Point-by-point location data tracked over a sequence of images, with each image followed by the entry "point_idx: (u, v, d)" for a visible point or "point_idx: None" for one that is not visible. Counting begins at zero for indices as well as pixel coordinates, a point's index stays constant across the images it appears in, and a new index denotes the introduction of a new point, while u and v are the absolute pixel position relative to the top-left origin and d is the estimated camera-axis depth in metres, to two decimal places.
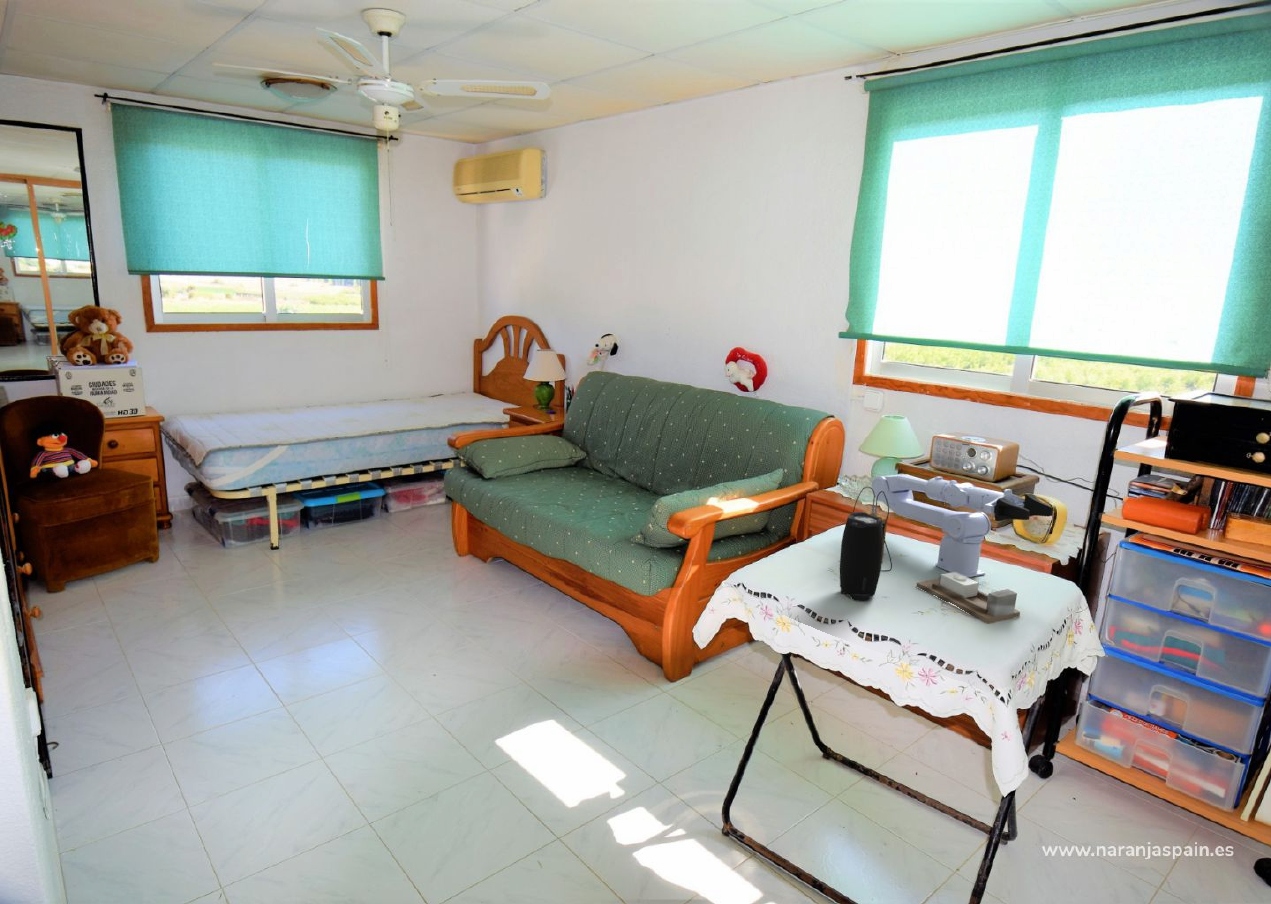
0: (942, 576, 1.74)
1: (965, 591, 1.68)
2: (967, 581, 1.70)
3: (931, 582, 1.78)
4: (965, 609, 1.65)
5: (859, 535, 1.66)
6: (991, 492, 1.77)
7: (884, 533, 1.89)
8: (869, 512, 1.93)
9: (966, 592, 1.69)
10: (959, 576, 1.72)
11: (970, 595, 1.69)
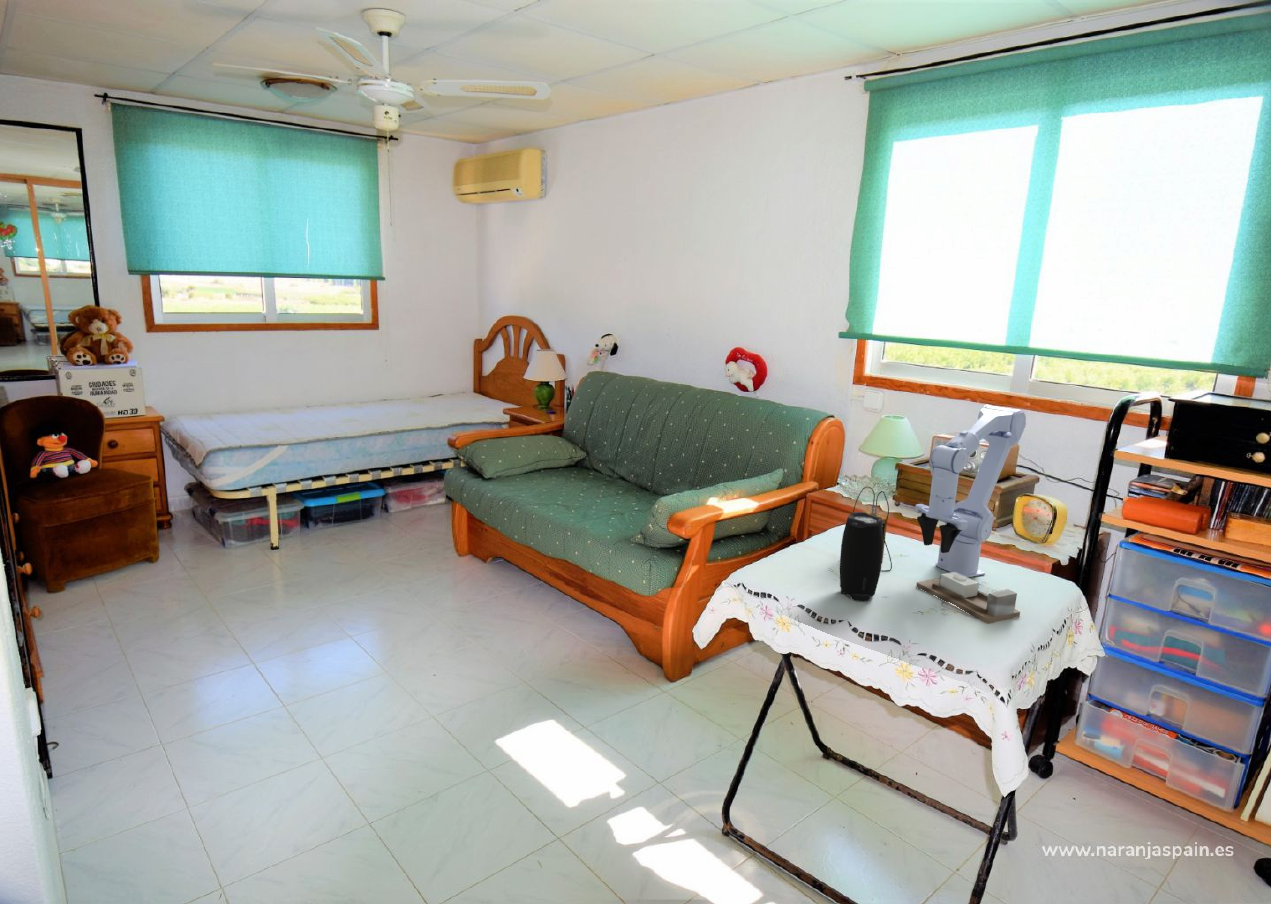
0: (942, 576, 1.74)
1: (965, 591, 1.68)
2: (967, 581, 1.70)
3: (931, 582, 1.78)
4: (965, 609, 1.65)
5: (859, 535, 1.66)
6: (931, 499, 1.75)
7: (884, 533, 1.89)
8: (869, 512, 1.93)
9: (966, 592, 1.69)
10: (959, 576, 1.72)
11: (970, 595, 1.69)
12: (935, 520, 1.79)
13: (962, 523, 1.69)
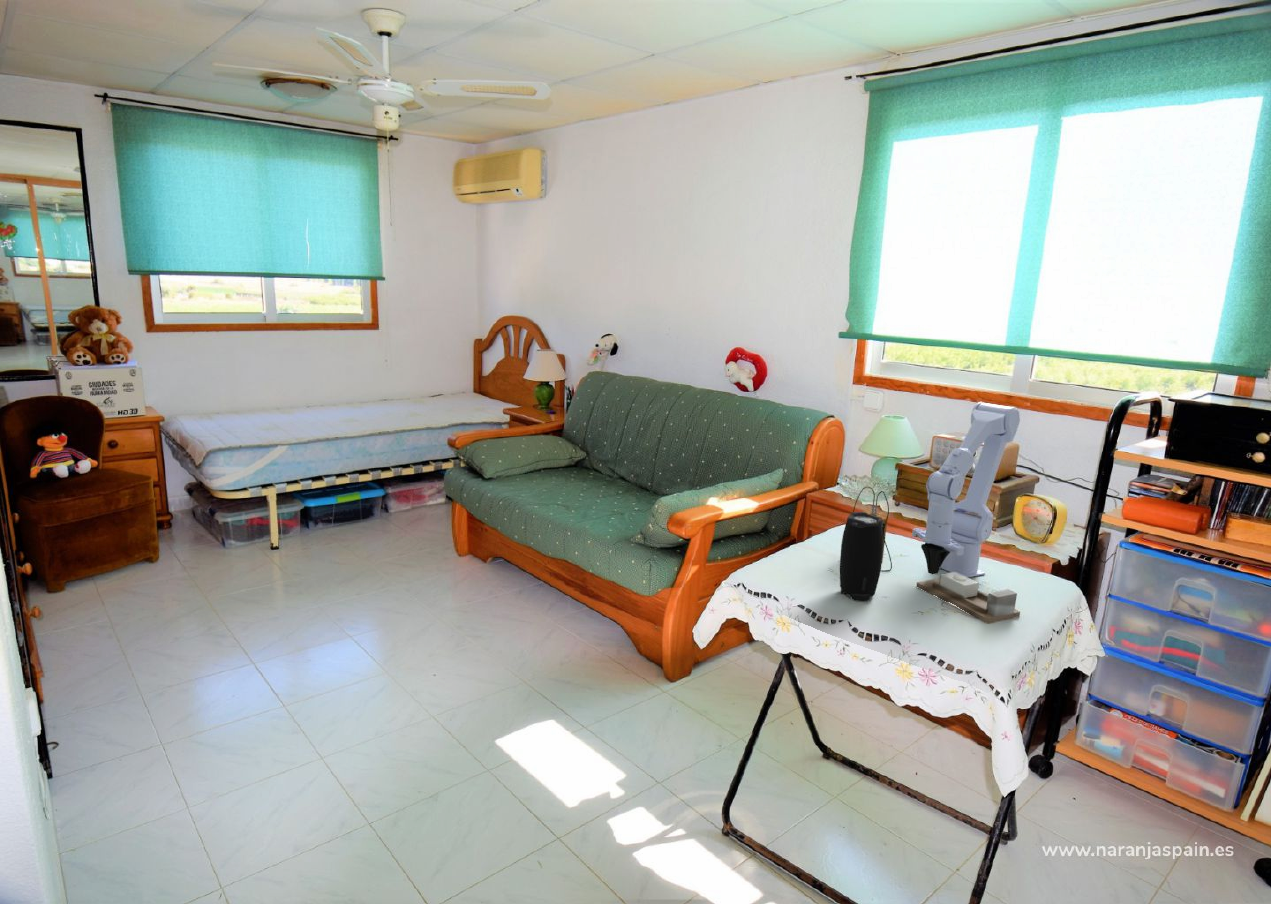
0: (942, 576, 1.74)
1: (965, 591, 1.68)
2: (967, 581, 1.70)
3: (931, 582, 1.78)
4: (965, 609, 1.65)
5: (859, 535, 1.66)
6: (927, 524, 1.76)
7: (884, 533, 1.89)
8: (869, 512, 1.93)
9: (966, 592, 1.69)
10: (959, 576, 1.72)
11: (970, 595, 1.69)
12: None
13: (958, 549, 1.71)
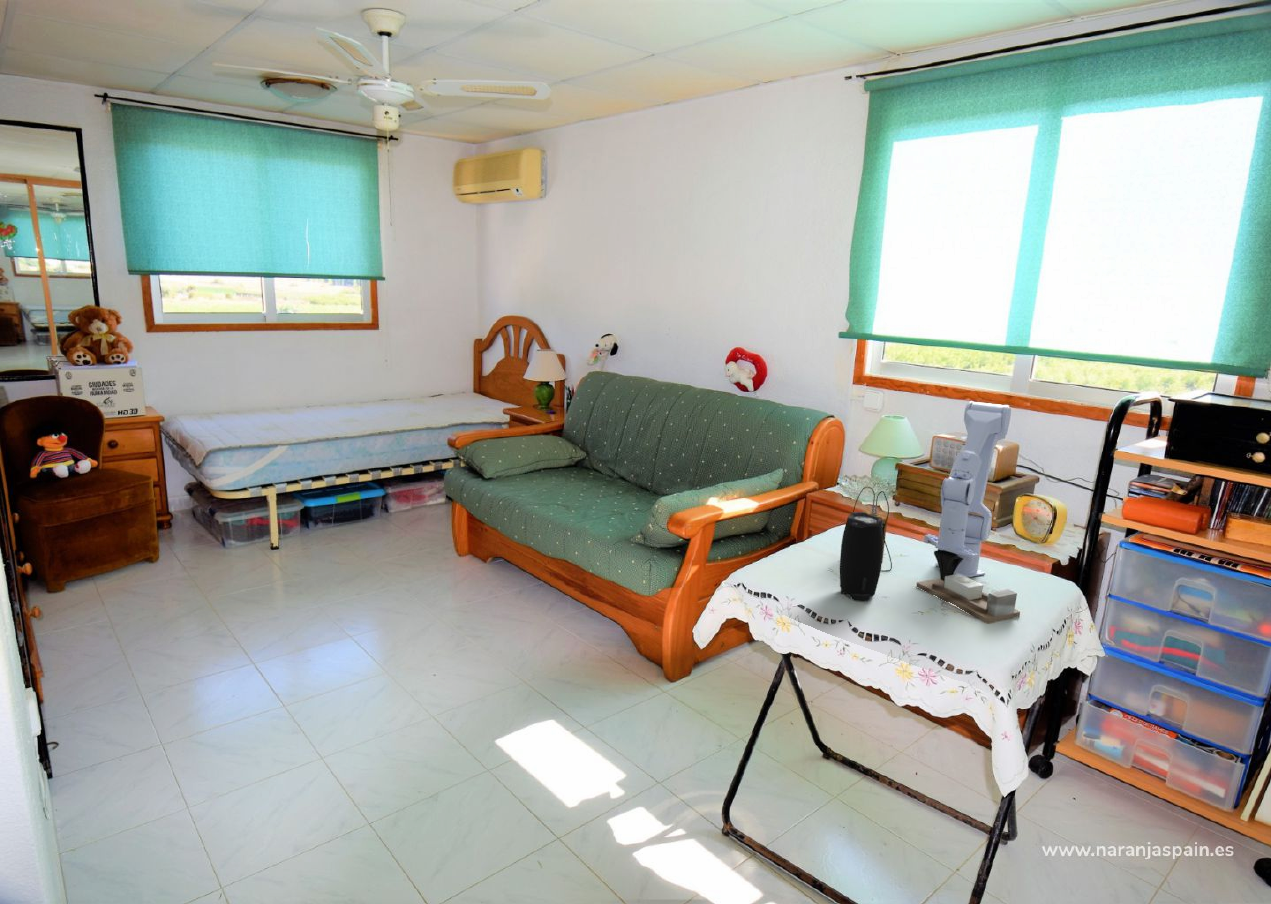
0: (947, 578, 1.72)
1: (970, 593, 1.67)
2: (971, 583, 1.69)
3: (931, 582, 1.78)
4: (965, 609, 1.65)
5: (859, 535, 1.66)
6: (940, 530, 1.73)
7: (884, 533, 1.89)
8: (869, 512, 1.93)
9: (971, 594, 1.68)
10: (963, 578, 1.71)
11: (975, 597, 1.68)
12: None
13: (972, 556, 1.67)
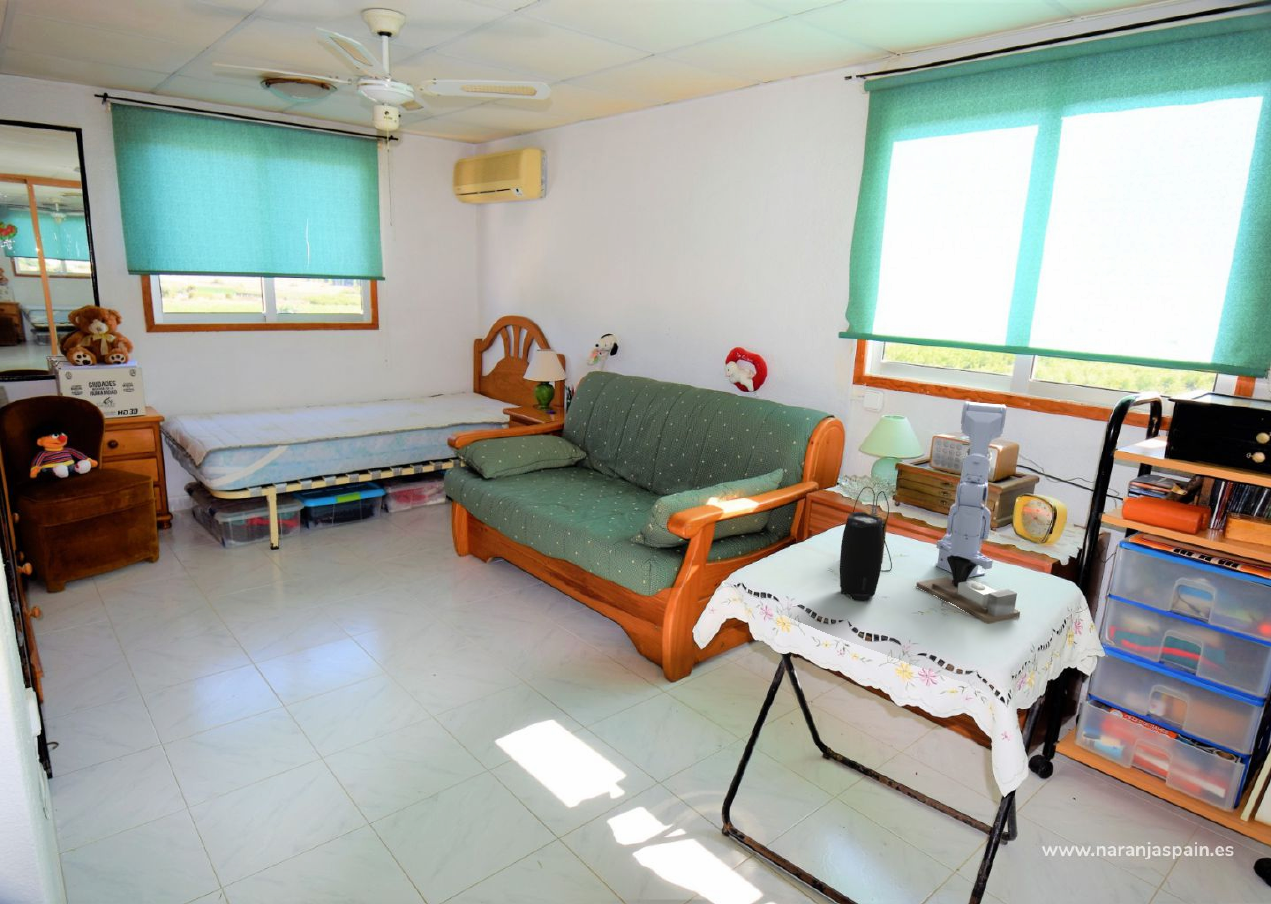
0: (960, 584, 1.69)
1: (984, 600, 1.64)
2: (986, 590, 1.65)
3: (931, 582, 1.78)
4: (965, 609, 1.65)
5: (859, 535, 1.66)
6: (954, 536, 1.69)
7: (884, 533, 1.89)
8: (869, 512, 1.93)
9: (985, 601, 1.64)
10: (977, 585, 1.68)
11: None
12: None
13: (987, 562, 1.63)
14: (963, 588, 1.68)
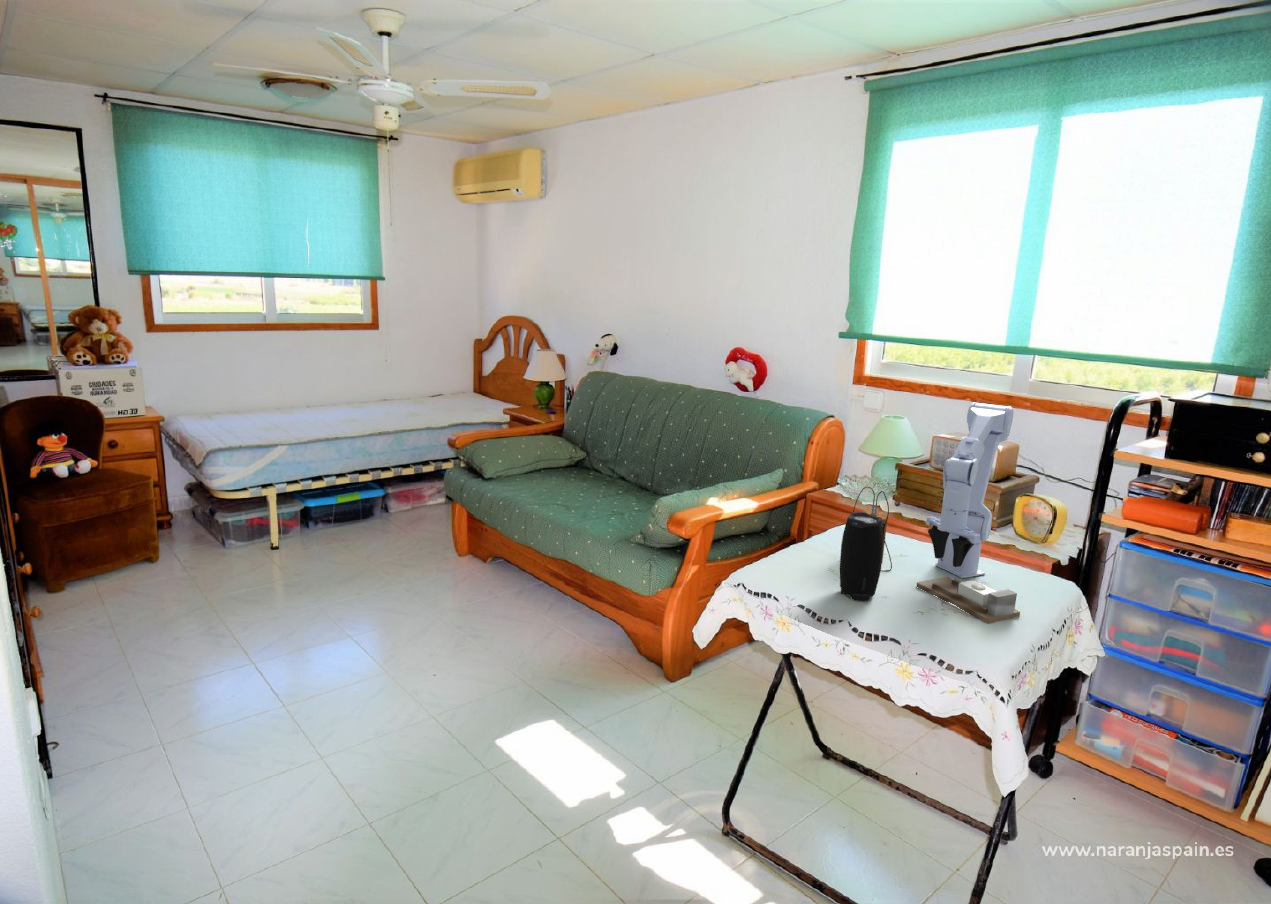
0: (960, 585, 1.69)
1: (984, 600, 1.64)
2: (986, 590, 1.65)
3: (931, 582, 1.78)
4: (965, 609, 1.65)
5: (859, 535, 1.66)
6: (942, 511, 1.72)
7: (884, 533, 1.89)
8: (869, 512, 1.93)
9: (986, 601, 1.64)
10: (978, 585, 1.68)
11: None
12: (946, 533, 1.76)
13: (975, 537, 1.66)
14: (963, 588, 1.68)
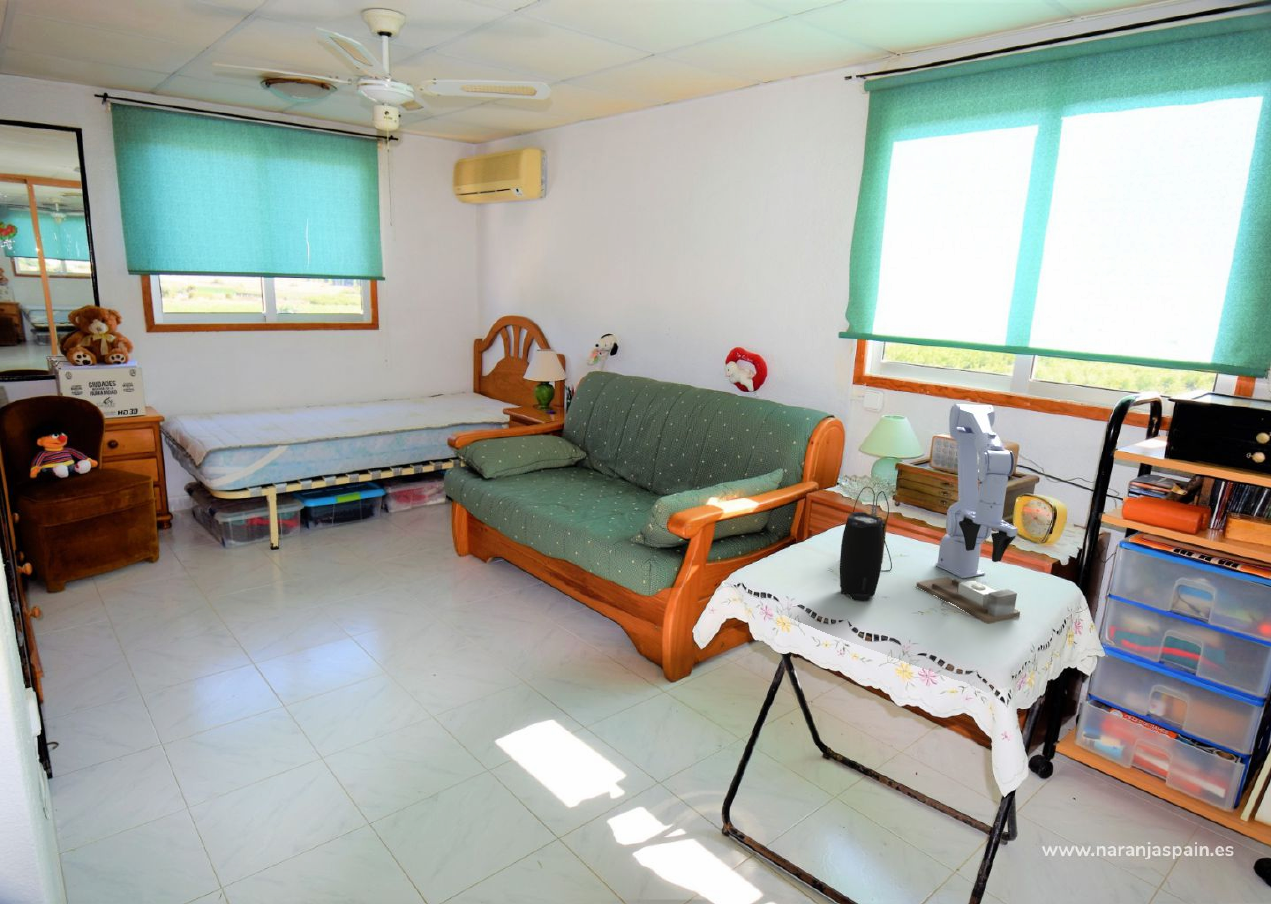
0: (960, 585, 1.69)
1: (984, 600, 1.64)
2: (986, 590, 1.65)
3: (931, 582, 1.78)
4: (965, 609, 1.65)
5: (859, 535, 1.66)
6: (978, 504, 1.70)
7: (884, 533, 1.89)
8: (869, 512, 1.93)
9: (986, 601, 1.64)
10: (978, 585, 1.68)
11: None
12: (977, 525, 1.75)
13: (1012, 530, 1.64)
14: (963, 588, 1.68)
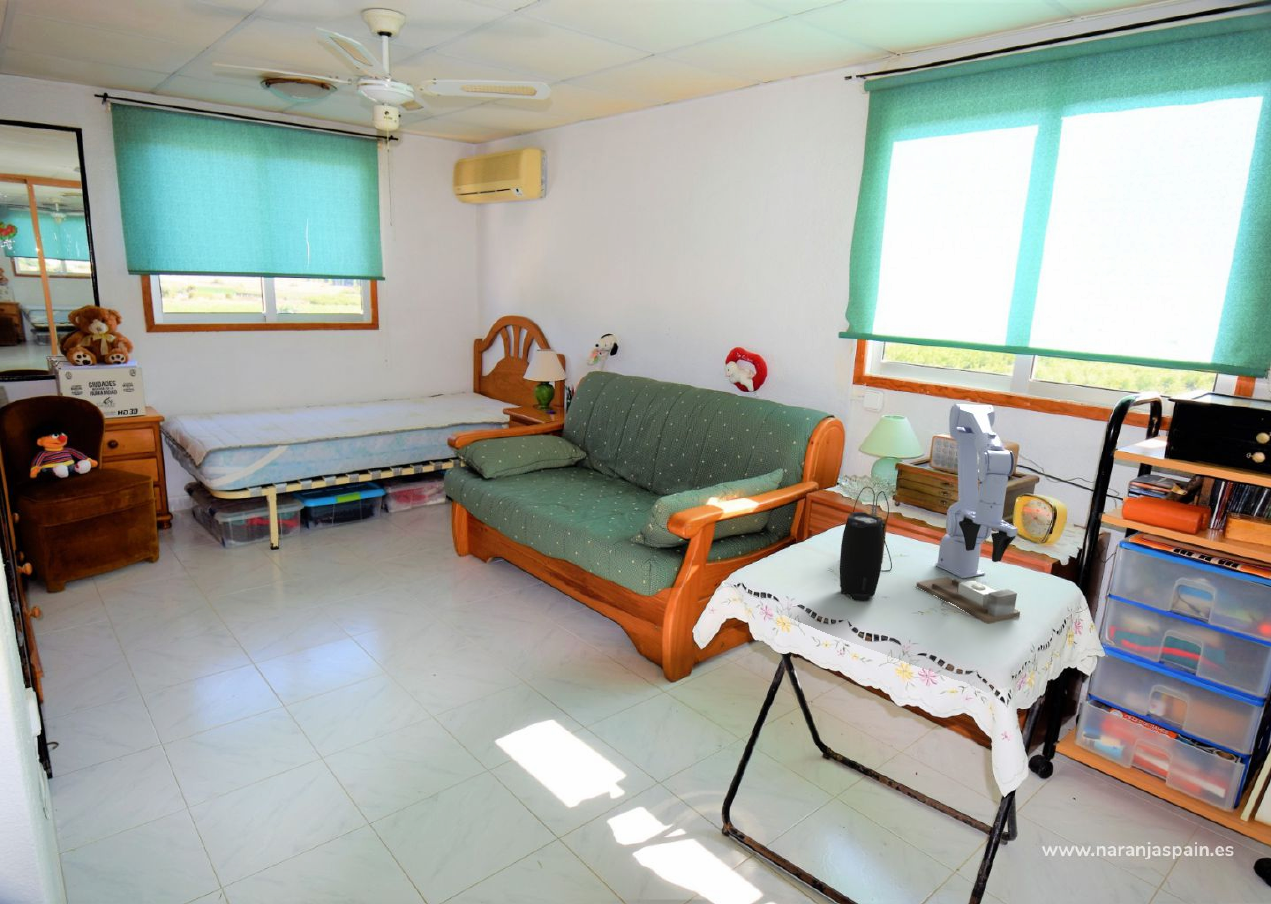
0: (960, 585, 1.69)
1: (984, 600, 1.64)
2: (986, 590, 1.65)
3: (931, 582, 1.78)
4: (965, 609, 1.65)
5: (859, 535, 1.66)
6: (978, 504, 1.70)
7: (884, 533, 1.89)
8: (869, 512, 1.93)
9: (986, 601, 1.64)
10: (978, 585, 1.68)
11: None
12: (977, 525, 1.75)
13: (1012, 530, 1.64)
14: (963, 588, 1.68)
